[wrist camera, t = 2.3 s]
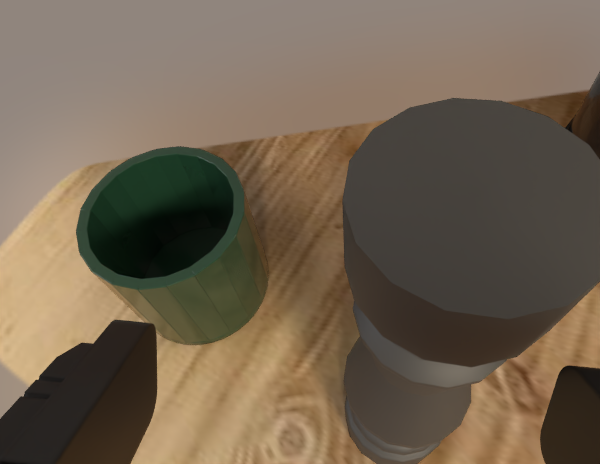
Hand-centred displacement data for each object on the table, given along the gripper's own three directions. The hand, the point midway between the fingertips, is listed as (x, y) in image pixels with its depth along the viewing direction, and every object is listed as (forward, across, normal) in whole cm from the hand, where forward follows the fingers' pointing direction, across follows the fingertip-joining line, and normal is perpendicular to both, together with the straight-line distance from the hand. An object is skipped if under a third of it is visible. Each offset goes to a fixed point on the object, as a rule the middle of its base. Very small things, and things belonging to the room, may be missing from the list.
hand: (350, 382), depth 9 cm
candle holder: (+18, -6, +16) cm, 24 cm away
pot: (+26, +9, +11) cm, 30 cm away
